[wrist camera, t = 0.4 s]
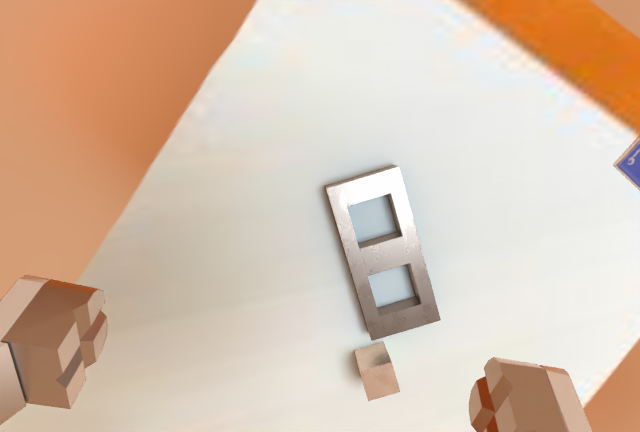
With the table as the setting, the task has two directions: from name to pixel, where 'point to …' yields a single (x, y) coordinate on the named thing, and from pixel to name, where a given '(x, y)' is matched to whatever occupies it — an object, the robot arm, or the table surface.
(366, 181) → the rail
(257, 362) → the table surface
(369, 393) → the block
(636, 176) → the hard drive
